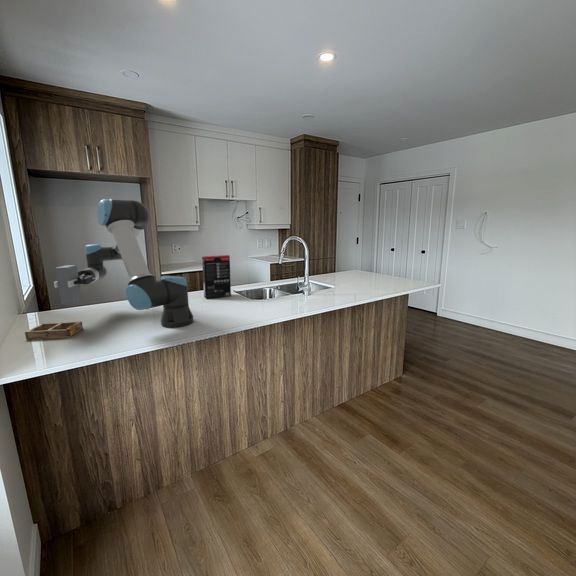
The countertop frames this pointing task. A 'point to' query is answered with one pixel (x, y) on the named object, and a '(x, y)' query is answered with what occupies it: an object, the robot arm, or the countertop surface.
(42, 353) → the countertop surface
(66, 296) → the block
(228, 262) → the graphics card box
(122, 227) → the robot arm
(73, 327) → the divided wooden tray
